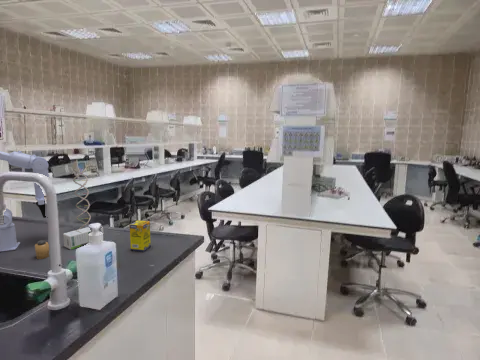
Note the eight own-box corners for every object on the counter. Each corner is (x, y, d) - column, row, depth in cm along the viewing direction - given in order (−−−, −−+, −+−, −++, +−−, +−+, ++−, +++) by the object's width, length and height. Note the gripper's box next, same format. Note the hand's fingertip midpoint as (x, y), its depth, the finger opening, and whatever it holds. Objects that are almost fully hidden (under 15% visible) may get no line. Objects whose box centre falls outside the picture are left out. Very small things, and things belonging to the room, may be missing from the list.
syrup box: (69, 236, 123) (104, 227, 135) (62, 233, 127) (96, 224, 138) (70, 250, 124) (104, 239, 136) (63, 246, 128) (97, 236, 139)
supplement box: (144, 252, 123) (142, 225, 121) (130, 250, 124) (128, 224, 122) (151, 246, 129) (150, 220, 127) (138, 245, 130) (136, 219, 128)
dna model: (75, 233, 143) (69, 168, 138) (78, 229, 149) (73, 166, 144) (91, 232, 145) (86, 168, 139) (93, 228, 151) (89, 166, 146)
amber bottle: (35, 259, 116) (33, 244, 114) (37, 255, 119) (35, 240, 118) (48, 257, 117) (47, 242, 116) (50, 253, 121) (49, 238, 120)
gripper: (50, 188, 125) (54, 220, 128) (55, 181, 138) (59, 211, 141) (30, 189, 122) (34, 223, 125) (37, 183, 135) (41, 213, 138)
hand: (46, 217), depth 133 cm, fingers closed
